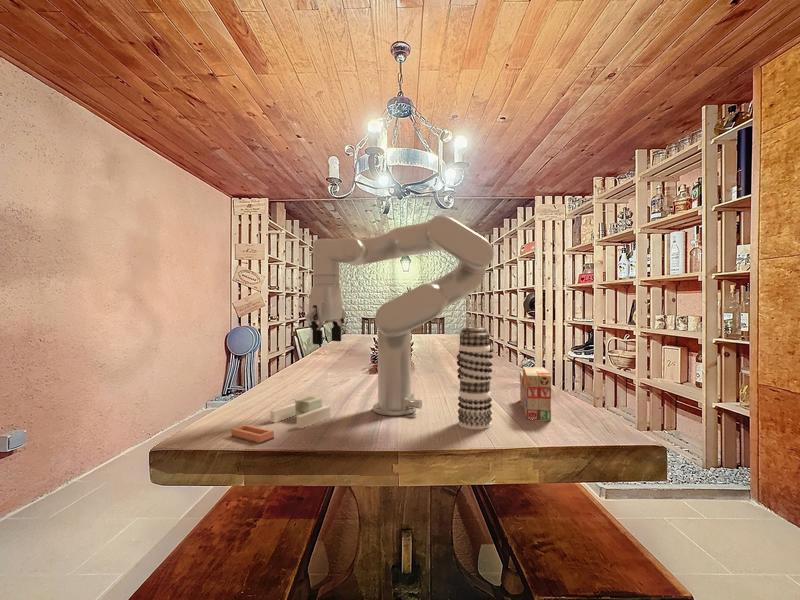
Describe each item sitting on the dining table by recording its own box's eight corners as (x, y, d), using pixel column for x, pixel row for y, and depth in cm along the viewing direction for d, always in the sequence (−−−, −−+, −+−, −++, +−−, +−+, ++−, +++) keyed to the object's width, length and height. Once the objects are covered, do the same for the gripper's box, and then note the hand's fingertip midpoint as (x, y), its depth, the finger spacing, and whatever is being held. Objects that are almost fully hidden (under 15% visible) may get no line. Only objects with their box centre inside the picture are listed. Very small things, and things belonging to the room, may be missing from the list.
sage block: (321, 416, 117) (321, 398, 116) (309, 421, 112) (308, 402, 112) (308, 413, 119) (308, 396, 119) (295, 418, 115) (295, 400, 115)
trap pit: (273, 438, 99) (273, 431, 98) (260, 443, 95) (259, 436, 95) (245, 431, 104) (245, 424, 104) (231, 436, 100) (231, 428, 100)
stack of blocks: (519, 400, 132) (519, 361, 132) (540, 401, 131) (540, 361, 131) (526, 420, 111) (526, 374, 111) (551, 421, 110) (551, 375, 110)
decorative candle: (499, 428, 104) (498, 328, 104) (463, 431, 103) (462, 329, 102) (485, 418, 113) (485, 325, 113) (452, 420, 112) (452, 326, 111)
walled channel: (330, 417, 115) (330, 406, 115) (301, 428, 105) (301, 417, 105) (300, 411, 121) (300, 401, 121) (270, 422, 111) (270, 410, 111)
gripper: (335, 282, 131) (336, 339, 132) (295, 281, 116) (296, 345, 117) (354, 282, 127) (355, 340, 128) (315, 281, 112) (316, 346, 113)
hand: (327, 342), depth 122 cm, fingers open, 7 cm apart
